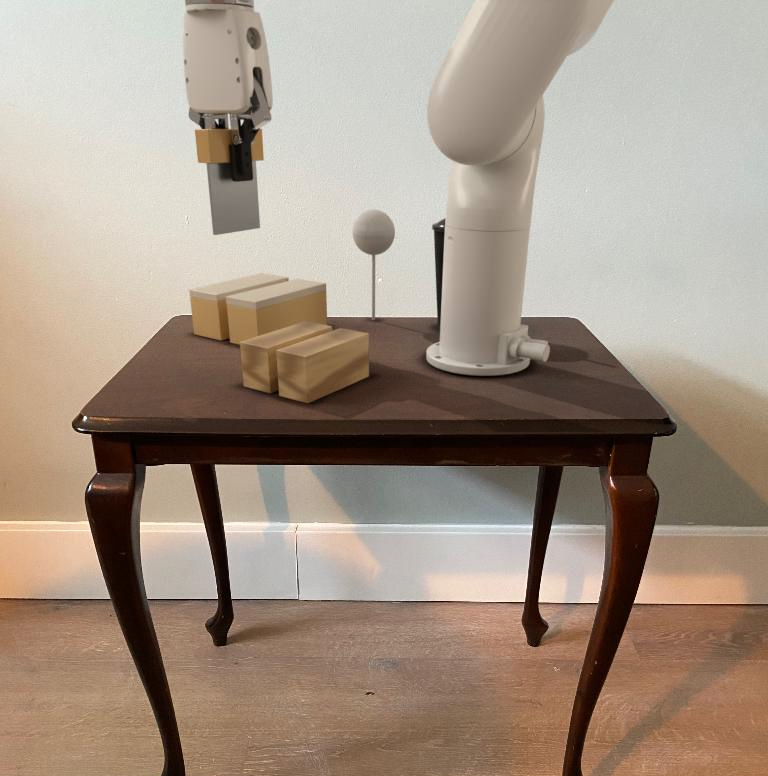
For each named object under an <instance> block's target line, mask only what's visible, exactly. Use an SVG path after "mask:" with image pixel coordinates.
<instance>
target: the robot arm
mask: <svg viewBox="0 0 768 776" xmlns="http://www.w3.org/2000/svg"><path fill="white" fill-rule="evenodd" d="M614 1H615V0H475V1H474V2H473V4H472V6H471V8H470V10H469V12H468V14H467V16H466V18H465V19H464V22H463V23H462V25H461V27H460V29H459V31H458V33H457V35H456V37H455V39H454V41H453V42H452V44H451V46H450V48H449V50H448V51H447V54H446V56H445V58H444V60H443V62H442V64H441V65H440V67H439V69H438V71H437V74H436V76H435V78H434V80H433V83H432V86H431V89H430V91H429V95H428V99H427V107H426V119H427V126H428V130H429V133H430V136H431V139H432V140H433V142H434V145H435V146H436V147H437V149H438V150H439V151H440V153H442V154H443V156H445V157H446V158H447V159H450V167H449V175H448V181H447V189H446V190H447V191H446V203H445V217H444V218H445V236H444V258H443V280H442V302H441V324H440V329H439V341H438V342H435V343H433V344H430V346H428V347H427V349H426V353H425V356H426V357H425V358H426V361H427V363H428V364H430V365H431V366H433V367H434V368H436V369H437V370H441V371H444V372H446V373H447V372H448V373H450V374H451V373H452V374H458V375H463V376H472V377H473V376H474V377H475V376H476V377H495V376H497V377H498V376H505V375H511V374H515V373H518V372H522V371H523V370H525V369H526V368H528V367H529V365H530V363H531V360H532V361H537V362H541V363H546V362H547V361H548V359H549V356H550V352H551V348H550V347H551V346H550V345H549V342H548V341H547V340H543V339H534V338H531V337H530V335H528V334H529V333H528V332H529V325H527V324H522V313H523V302H524V292H525V285H526V284H525V283H526V272H527V265H528V264H527V262H528V253H529V242H530V232H531V225H532V217H533V216H532V215H533V206H534V196H535V195H534V194H535V188H536V181H537V173H538V167H539V161H540V154H541V150H542V149H541V148H542V143H543V137H544V129H545V118H546V117H545V115H546V114H545V101H544V96H543V95H544V94H545V93H546V91H547V89H549V88H548V87H549V86H550V85H551V83H552V81H553V80H554V78H555V76H556V75H557V74H558V72H559V70H560V69H561V67H562V65H563V63H564V62H565V61H566V59H567V57H568V56H571V55H573V54H575V53H576V52H579V51H580V50H581V49H582V48H583V47H584V46H586V45H587V44H588V43H589V42H590V41H591V39H593V37H594V36H595V35H596V33H597V32H598V30H599V28H600V26H601V25H602V23H603V21H604V19H605V17H606V15H607V14H608V11H609V10H610V8H611V7H612V5H613V3H614ZM184 4H185V12H184V13H183V14H184V16H183V34H182V35H183V37H182V41H183V43H182V45H183V46H182V50H183V71H184V72H183V75H184V83H185V85H184V86H185V92H186V98H187V104H188V106H189V109H188V118H189V120H190V121H192V122H193V123H195V124H196V125H197V126H199V127H200V129H231V136H232V142H233V143H234V144H231V145H229V154H230V170H231V179H232V181H234V182H240V181H251V180H253V166H252V151H251V144H254V142H255V136H256V134H257V133H258V131H259V129H261V128H263V127H265V126H266V125H267V124H269V123H270V122H272V114H271V110H272V109H273V104H274V103H273V101H274V99H273V85H272V75H271V74H272V73H271V64H270V56H269V50H268V43H267V39H266V38H267V37H266V33H265V28H264V24H263V19H262V16H261V13H260V12H258V11H257V12H256V11H255V0H184ZM216 120H217V121H216ZM241 120H243V122H242V121H241ZM229 124H230V125H229ZM229 126H230V127H229Z"/></svg>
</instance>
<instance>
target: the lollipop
mask: <svg viewBox="0 0 768 776" xmlns="http://www.w3.org/2000/svg"><path fill="white" fill-rule="evenodd" d="M395 235H396V227H395V224H394V222H393V220H392V218H390V216H389V215H388V214H387V213H386V212H384V211H382V210H379V209H369V210H365V211H363V212H362V213H361V214H359V215H358V216H357V217H356V219H355V221H354V223H353V226H352V238H353V241H354V244H355V246H356V247H357V249H359V250H360V251H361V252H363V253H364V254H366V255H369V256H371V321H376V256H378V255H381V254H384V253H385V252H387V251H388V250H389V249H390V247H391V246H392V244H393V243H394V240H395Z"/></svg>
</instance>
